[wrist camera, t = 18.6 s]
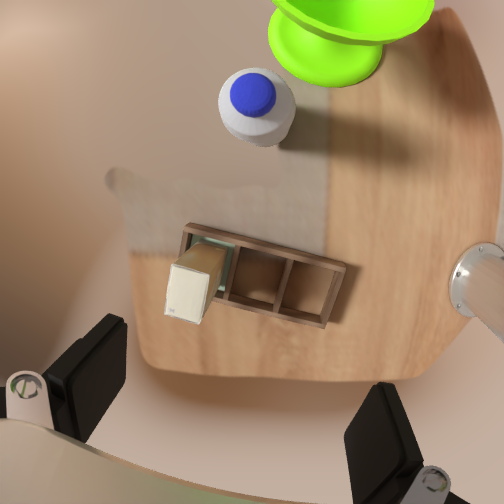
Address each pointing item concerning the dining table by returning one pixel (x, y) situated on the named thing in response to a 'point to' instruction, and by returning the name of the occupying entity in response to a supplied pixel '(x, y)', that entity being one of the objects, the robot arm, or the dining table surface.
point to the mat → (228, 259)
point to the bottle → (257, 106)
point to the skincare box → (195, 281)
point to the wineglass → (340, 36)
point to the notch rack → (291, 255)
